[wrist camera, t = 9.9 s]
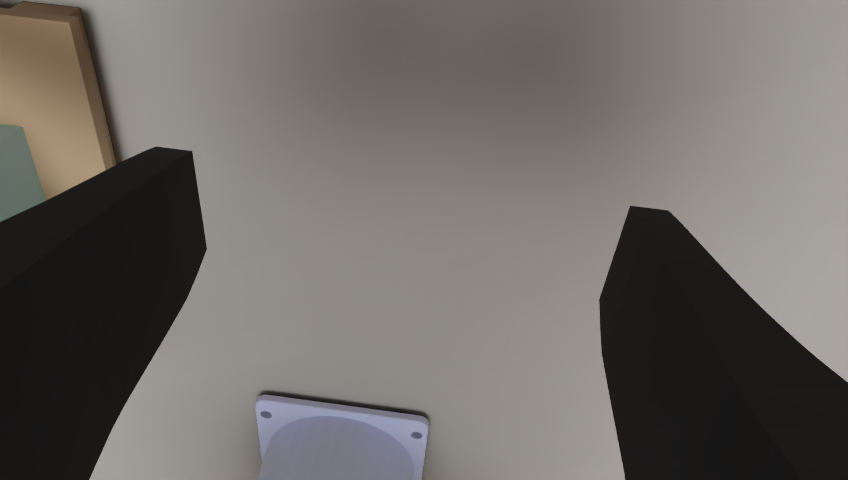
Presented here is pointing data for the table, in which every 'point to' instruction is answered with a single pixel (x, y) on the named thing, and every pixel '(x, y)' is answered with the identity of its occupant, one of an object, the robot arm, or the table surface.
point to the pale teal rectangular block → (17, 173)
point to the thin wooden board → (53, 94)
